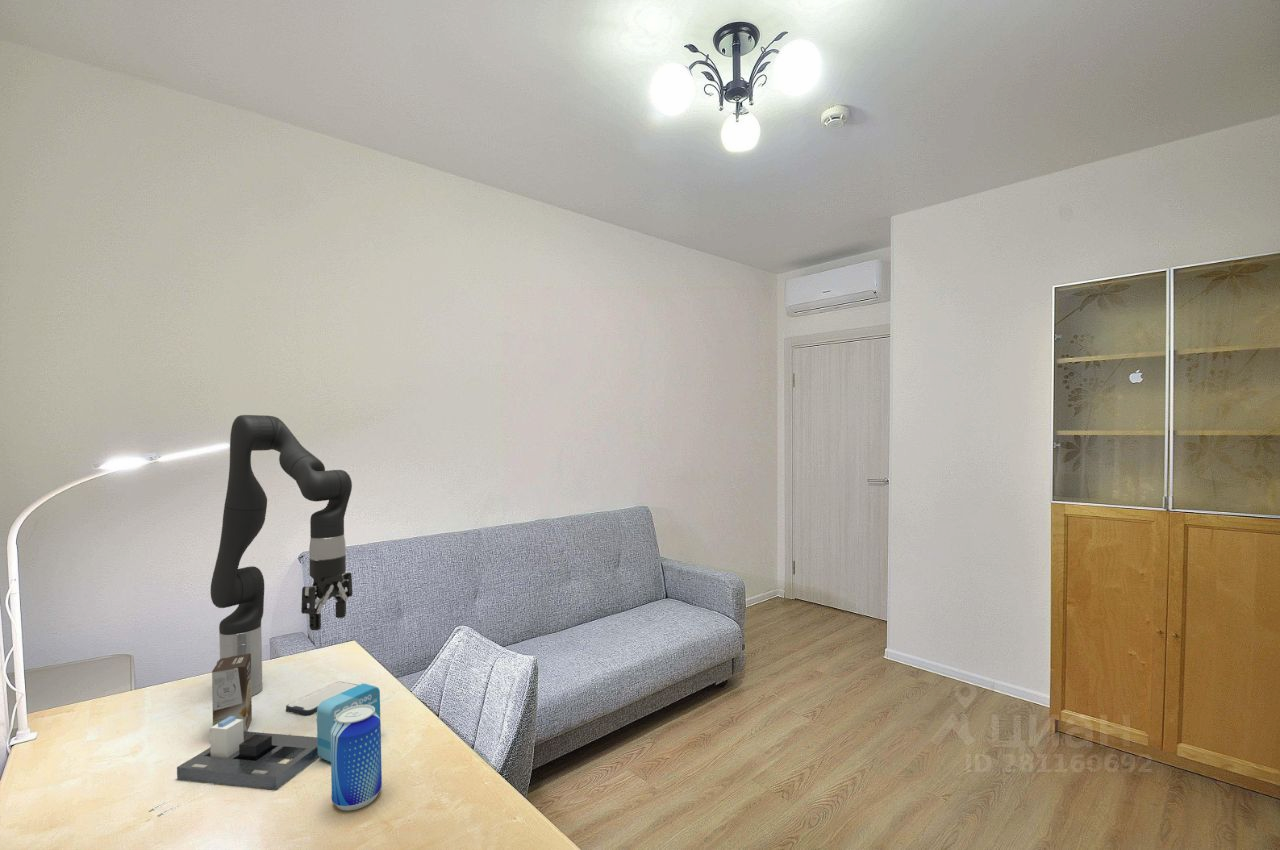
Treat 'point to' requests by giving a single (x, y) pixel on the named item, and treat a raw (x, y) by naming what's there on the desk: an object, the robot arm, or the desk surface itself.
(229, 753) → the plug
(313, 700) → the phone case
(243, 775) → the panel
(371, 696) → the teal rounded box
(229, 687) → the coffee box
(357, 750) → the beer can
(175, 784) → the desk surface
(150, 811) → the electronic cable
